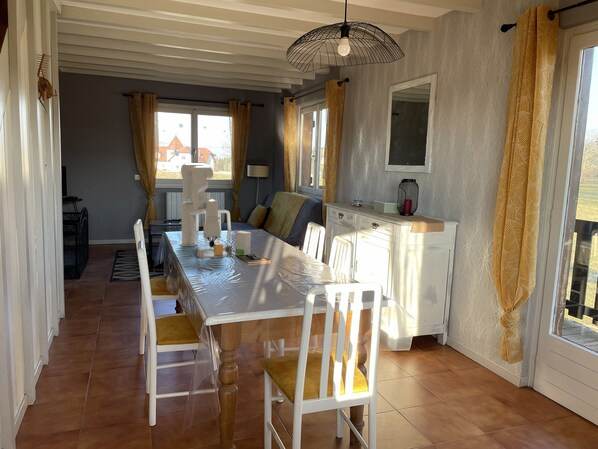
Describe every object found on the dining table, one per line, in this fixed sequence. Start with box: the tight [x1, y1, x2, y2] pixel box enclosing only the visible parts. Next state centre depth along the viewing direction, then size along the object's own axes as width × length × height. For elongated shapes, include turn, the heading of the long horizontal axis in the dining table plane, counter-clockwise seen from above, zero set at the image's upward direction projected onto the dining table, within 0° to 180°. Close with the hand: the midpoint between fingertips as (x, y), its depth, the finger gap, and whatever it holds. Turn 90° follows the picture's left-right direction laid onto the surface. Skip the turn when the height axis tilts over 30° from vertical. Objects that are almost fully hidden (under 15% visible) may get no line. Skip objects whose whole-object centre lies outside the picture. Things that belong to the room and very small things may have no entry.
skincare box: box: [234, 230, 252, 256], centre depth 296 cm, size 8×7×16 cm
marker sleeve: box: [213, 242, 224, 255], centre depth 293 cm, size 5×5×7 cm
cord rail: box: [196, 244, 234, 259], centre depth 292 cm, size 10×22×6 cm, turn 115°
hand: (211, 246), depth 291 cm, fingers closed
